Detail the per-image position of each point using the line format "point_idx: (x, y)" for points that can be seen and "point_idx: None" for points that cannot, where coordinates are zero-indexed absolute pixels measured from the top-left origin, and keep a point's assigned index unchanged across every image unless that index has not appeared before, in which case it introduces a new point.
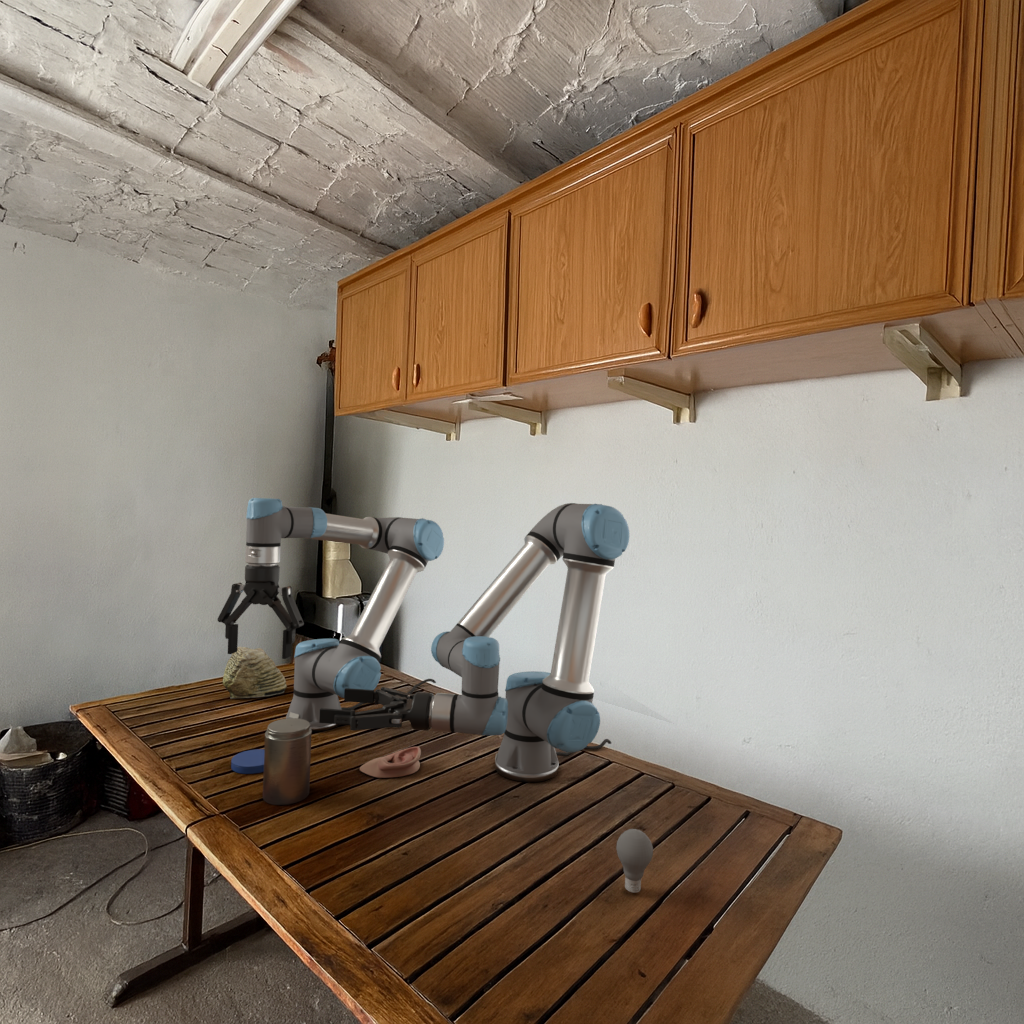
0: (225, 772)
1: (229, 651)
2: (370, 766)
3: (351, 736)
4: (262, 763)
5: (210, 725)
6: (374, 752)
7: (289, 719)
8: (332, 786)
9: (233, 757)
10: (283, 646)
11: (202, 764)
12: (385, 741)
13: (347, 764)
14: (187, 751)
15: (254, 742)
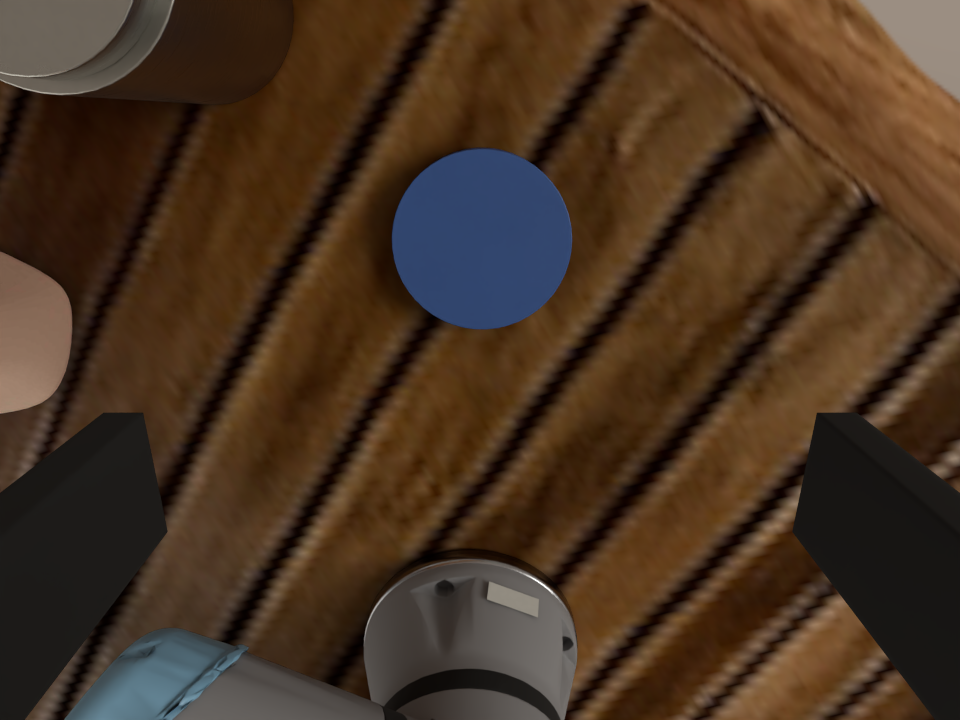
0: (554, 143)
1: (849, 425)
2: (2, 289)
3: (275, 557)
4: (417, 196)
5: None
6: None
7: (67, 36)
8: (78, 130)
9: (567, 222)
10: (33, 493)
11: (684, 191)
12: None
13: (144, 331)
14: (807, 290)
15: (593, 428)
